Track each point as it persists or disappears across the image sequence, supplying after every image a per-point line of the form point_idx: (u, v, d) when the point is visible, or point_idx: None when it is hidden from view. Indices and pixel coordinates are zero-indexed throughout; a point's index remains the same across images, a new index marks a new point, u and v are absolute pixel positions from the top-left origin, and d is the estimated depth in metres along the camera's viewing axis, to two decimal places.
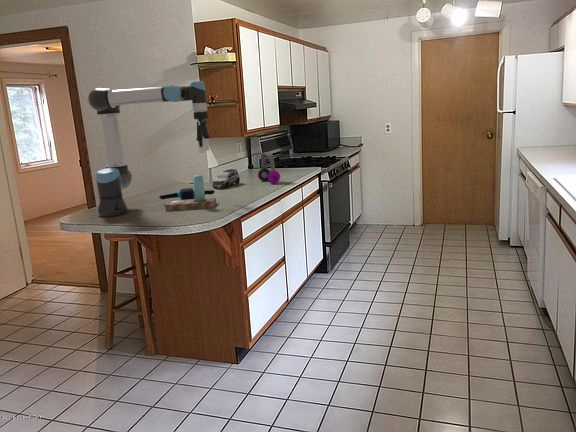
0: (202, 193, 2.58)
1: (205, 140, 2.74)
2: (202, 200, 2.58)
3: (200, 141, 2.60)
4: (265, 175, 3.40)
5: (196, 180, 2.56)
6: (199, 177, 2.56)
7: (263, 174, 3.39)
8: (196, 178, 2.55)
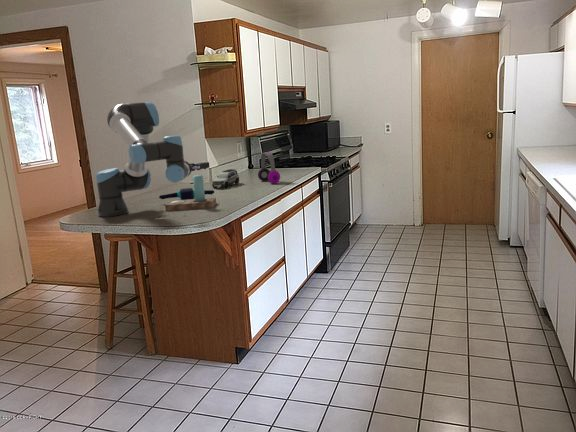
0: (202, 193, 2.58)
1: None
2: (202, 200, 2.58)
3: None
4: (265, 175, 3.40)
5: (196, 180, 2.56)
6: (199, 177, 2.56)
7: (263, 174, 3.39)
8: (196, 178, 2.55)
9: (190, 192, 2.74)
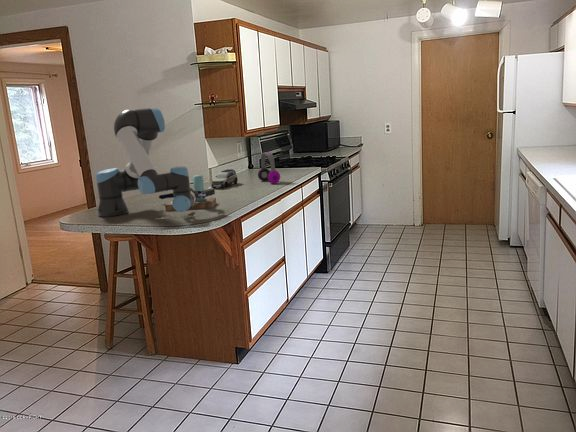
0: None
1: None
2: (202, 200, 2.58)
3: None
4: (265, 175, 3.40)
5: (196, 180, 2.56)
6: (199, 177, 2.56)
7: (263, 174, 3.39)
8: (196, 178, 2.55)
9: None
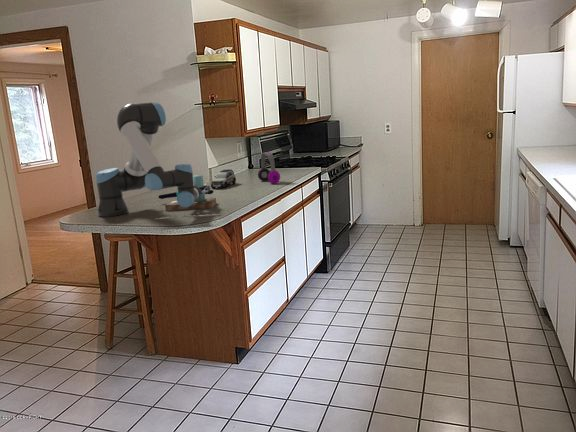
0: (202, 193, 2.58)
1: None
2: (202, 200, 2.58)
3: None
4: (265, 175, 3.40)
5: (196, 180, 2.56)
6: (199, 177, 2.56)
7: (263, 174, 3.39)
8: (196, 178, 2.55)
9: None
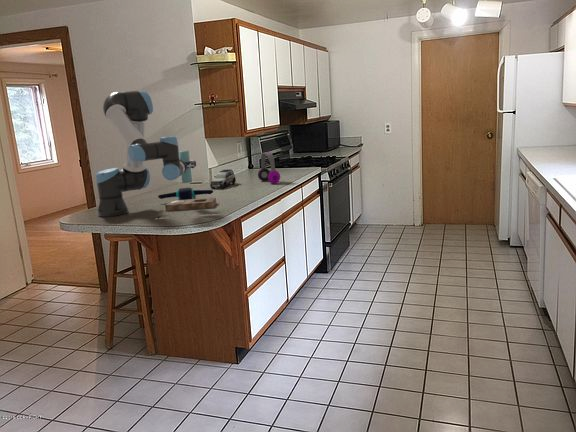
0: (188, 169, 2.55)
1: None
2: (188, 176, 2.56)
3: None
4: (265, 175, 3.40)
5: (182, 155, 2.53)
6: (185, 152, 2.53)
7: (263, 174, 3.39)
8: (182, 153, 2.53)
9: (188, 192, 2.75)
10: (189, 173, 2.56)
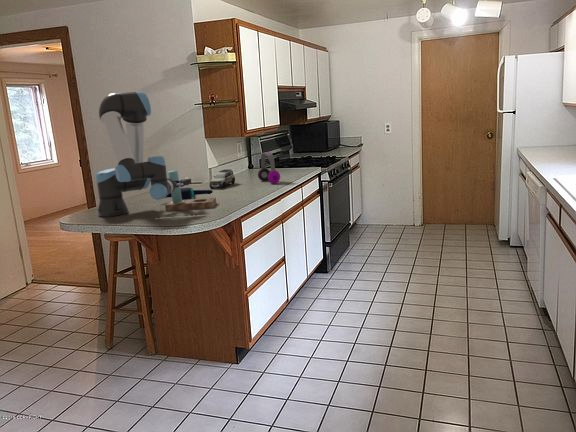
0: (178, 188, 2.57)
1: None
2: (178, 195, 2.58)
3: None
4: (265, 175, 3.40)
5: (171, 176, 2.55)
6: (174, 172, 2.55)
7: (263, 174, 3.39)
8: (171, 174, 2.55)
9: (187, 192, 2.76)
10: (179, 193, 2.58)
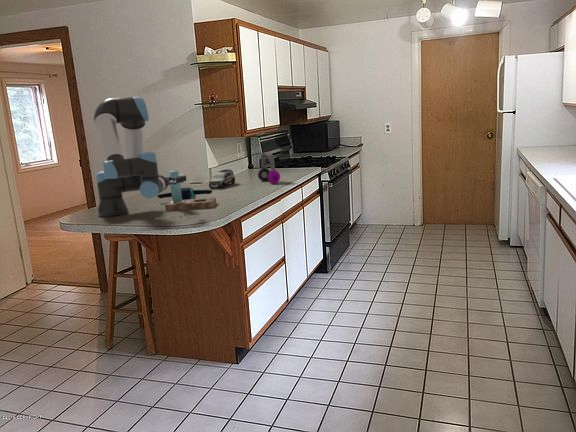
0: (178, 188, 2.58)
1: None
2: (178, 195, 2.58)
3: None
4: (265, 175, 3.40)
5: (171, 175, 2.55)
6: (175, 172, 2.55)
7: (263, 174, 3.39)
8: (172, 173, 2.55)
9: (187, 191, 2.76)
10: (179, 193, 2.58)
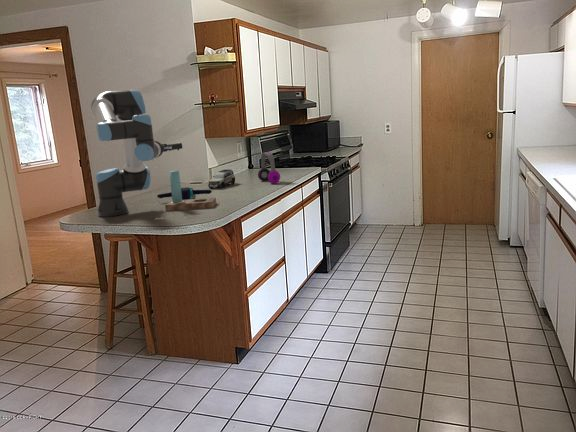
0: (178, 188, 2.58)
1: None
2: (178, 195, 2.58)
3: None
4: (265, 175, 3.40)
5: (172, 175, 2.55)
6: (175, 172, 2.55)
7: (263, 174, 3.39)
8: (172, 173, 2.55)
9: (186, 191, 2.77)
10: (179, 193, 2.58)
